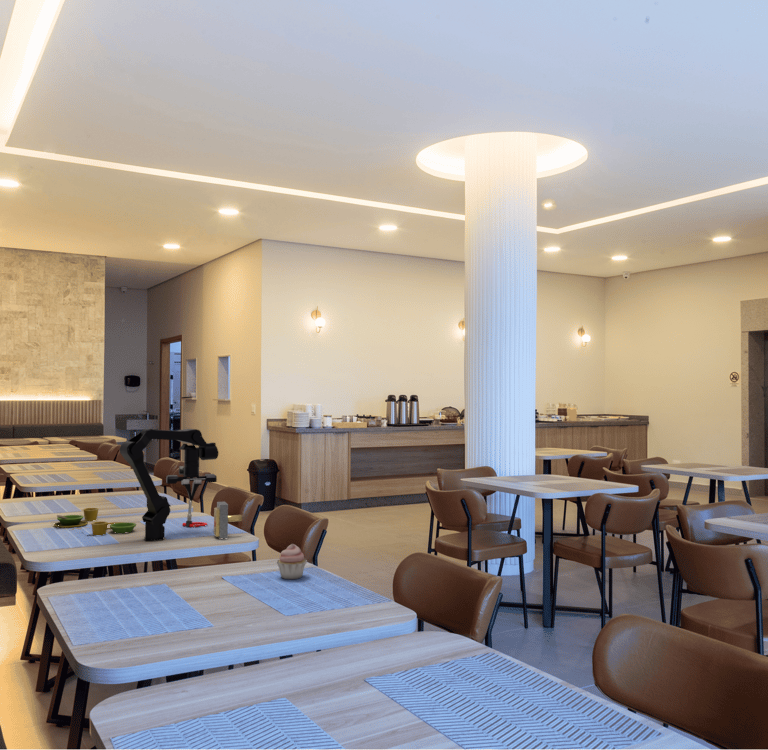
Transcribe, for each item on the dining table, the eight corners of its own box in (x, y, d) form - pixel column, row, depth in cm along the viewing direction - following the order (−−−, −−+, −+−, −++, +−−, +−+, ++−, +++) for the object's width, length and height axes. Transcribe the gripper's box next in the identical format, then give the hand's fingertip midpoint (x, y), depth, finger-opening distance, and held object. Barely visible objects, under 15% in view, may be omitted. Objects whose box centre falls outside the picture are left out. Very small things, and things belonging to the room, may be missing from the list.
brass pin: (215, 536, 268) (216, 510, 269) (213, 533, 274) (214, 507, 274) (242, 534, 272) (242, 508, 272) (239, 532, 277) (240, 506, 278)
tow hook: (197, 524, 302) (180, 526, 294) (199, 493, 303) (182, 495, 295) (211, 526, 297) (194, 528, 290) (213, 495, 298) (196, 496, 290)
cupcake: (278, 581, 208) (278, 547, 208) (274, 574, 217) (274, 541, 217) (309, 580, 210) (310, 546, 210) (304, 572, 219) (305, 539, 219)
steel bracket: (219, 539, 268) (220, 504, 268) (216, 535, 275) (217, 501, 276) (227, 539, 269) (228, 504, 269) (224, 535, 276) (224, 501, 277)
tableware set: (48, 524, 299) (48, 509, 299) (116, 518, 315) (117, 504, 315) (67, 541, 265) (67, 524, 265) (142, 533, 281) (143, 517, 281)
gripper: (213, 458, 289) (212, 497, 289) (165, 459, 283) (164, 499, 282) (217, 461, 279) (216, 500, 278) (167, 462, 272) (166, 503, 272)
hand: (191, 500), depth 278 cm, fingers closed
